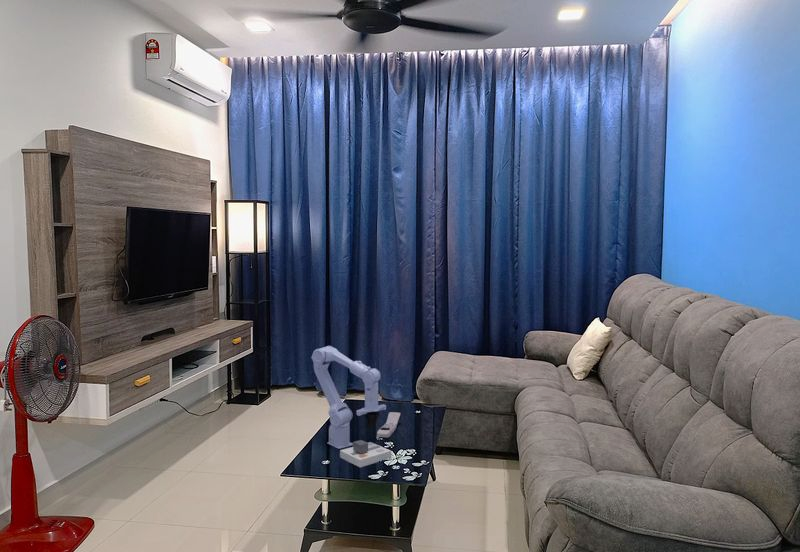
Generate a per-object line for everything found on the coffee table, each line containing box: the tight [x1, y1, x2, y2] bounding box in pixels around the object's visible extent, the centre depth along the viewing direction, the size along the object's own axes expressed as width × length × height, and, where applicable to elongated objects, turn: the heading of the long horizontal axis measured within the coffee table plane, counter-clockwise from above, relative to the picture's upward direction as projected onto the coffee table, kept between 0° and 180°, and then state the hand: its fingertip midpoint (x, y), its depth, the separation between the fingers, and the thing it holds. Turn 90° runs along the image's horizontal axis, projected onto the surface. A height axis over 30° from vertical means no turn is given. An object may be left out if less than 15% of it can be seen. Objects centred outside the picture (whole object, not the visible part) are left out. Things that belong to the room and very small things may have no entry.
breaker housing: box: [339, 441, 392, 468], centre depth 240 cm, size 16×14×3 cm
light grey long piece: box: [375, 411, 401, 440], centre depth 274 cm, size 6×6×25 cm
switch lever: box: [352, 439, 369, 454], centre depth 238 cm, size 4×5×4 cm
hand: (371, 429), depth 248 cm, fingers closed
